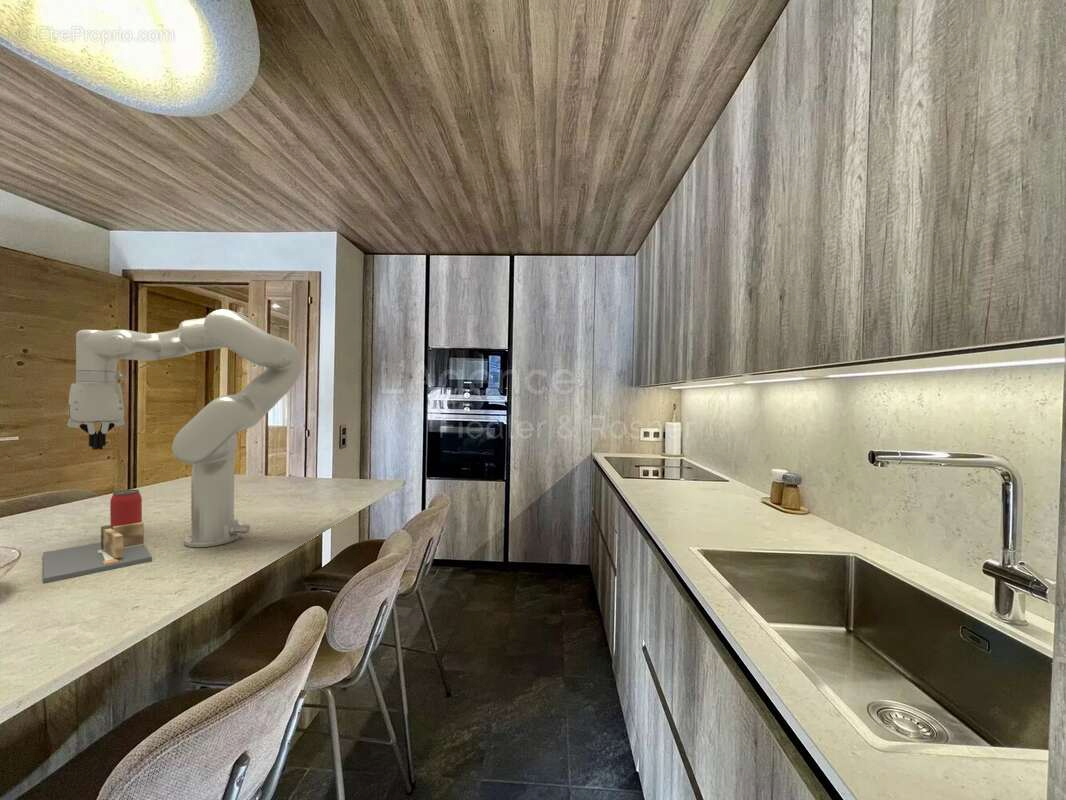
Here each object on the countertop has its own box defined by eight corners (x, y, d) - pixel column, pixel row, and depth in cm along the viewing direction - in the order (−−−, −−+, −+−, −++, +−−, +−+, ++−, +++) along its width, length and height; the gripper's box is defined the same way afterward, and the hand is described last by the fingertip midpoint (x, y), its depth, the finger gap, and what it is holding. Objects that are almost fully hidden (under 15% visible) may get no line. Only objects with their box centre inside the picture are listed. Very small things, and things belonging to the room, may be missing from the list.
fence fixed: (143, 543, 117) (142, 522, 117) (143, 544, 116) (143, 522, 116) (113, 548, 113) (112, 526, 113) (113, 549, 112) (113, 527, 112)
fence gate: (100, 548, 111) (99, 526, 111) (109, 546, 113) (109, 524, 113) (114, 558, 105) (114, 535, 105) (124, 556, 106) (124, 533, 106)
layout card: (138, 539, 123) (138, 535, 123) (152, 560, 108) (151, 556, 108) (43, 556, 110) (42, 551, 110) (43, 583, 95) (43, 577, 95)
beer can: (127, 538, 124) (127, 494, 123) (103, 537, 124) (103, 494, 124) (148, 530, 130) (148, 489, 130) (125, 530, 130) (125, 488, 130)
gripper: (131, 379, 125) (131, 445, 126) (52, 377, 113) (53, 450, 114) (138, 379, 121) (138, 447, 121) (57, 377, 109) (58, 453, 109)
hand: (97, 448), depth 117 cm, fingers closed
